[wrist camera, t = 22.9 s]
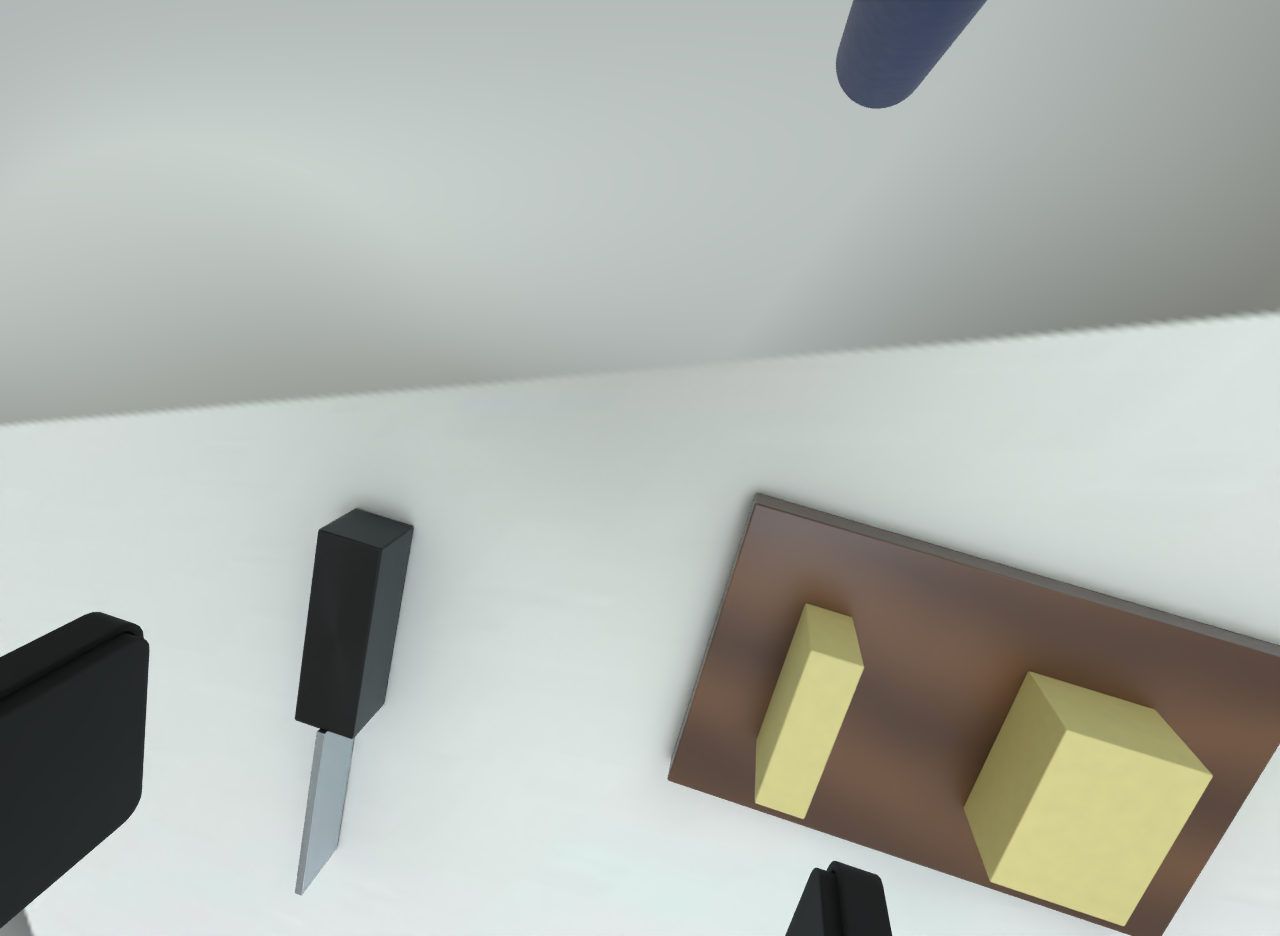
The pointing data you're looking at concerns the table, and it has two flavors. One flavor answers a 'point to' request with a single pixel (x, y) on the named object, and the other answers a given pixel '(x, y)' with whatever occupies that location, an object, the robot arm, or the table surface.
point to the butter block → (1082, 798)
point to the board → (960, 689)
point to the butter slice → (806, 710)
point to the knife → (346, 660)
